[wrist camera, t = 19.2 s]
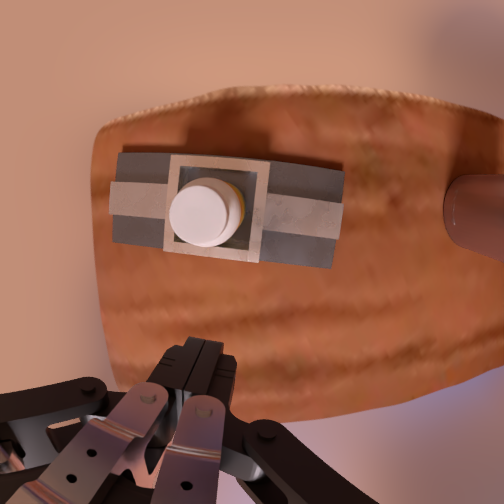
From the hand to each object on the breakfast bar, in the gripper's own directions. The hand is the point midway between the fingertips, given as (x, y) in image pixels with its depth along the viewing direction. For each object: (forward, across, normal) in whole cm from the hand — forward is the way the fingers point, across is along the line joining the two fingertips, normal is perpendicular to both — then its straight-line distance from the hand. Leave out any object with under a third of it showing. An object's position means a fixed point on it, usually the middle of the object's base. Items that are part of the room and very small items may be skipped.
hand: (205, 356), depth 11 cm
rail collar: (+18, +3, -5) cm, 19 cm away
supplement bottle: (+18, +3, -5) cm, 19 cm away
